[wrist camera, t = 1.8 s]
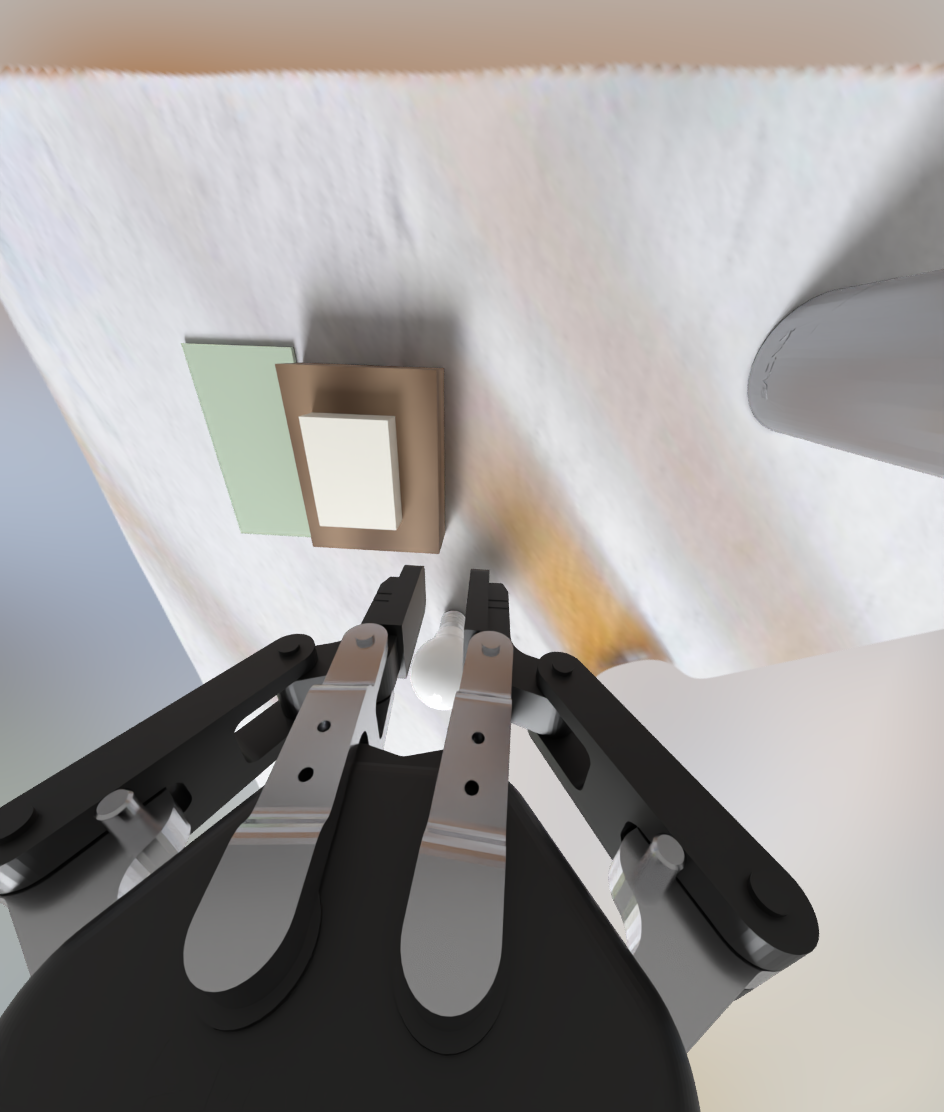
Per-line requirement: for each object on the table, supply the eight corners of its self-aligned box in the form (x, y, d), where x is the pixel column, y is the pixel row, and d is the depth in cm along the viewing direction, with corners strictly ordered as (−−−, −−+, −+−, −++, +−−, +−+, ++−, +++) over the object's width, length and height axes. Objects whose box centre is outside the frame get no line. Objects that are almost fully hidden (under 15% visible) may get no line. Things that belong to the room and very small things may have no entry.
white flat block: (395, 416, 25) (387, 420, 24) (402, 519, 29) (396, 530, 27) (312, 412, 26) (298, 416, 24) (330, 515, 29) (319, 526, 28)
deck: (444, 368, 27) (436, 370, 24) (444, 533, 34) (439, 554, 31) (302, 362, 28) (274, 363, 24) (331, 527, 34) (313, 546, 31)
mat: (293, 347, 27) (290, 347, 27) (328, 536, 35) (326, 538, 35) (185, 343, 27) (180, 343, 27) (243, 531, 35) (241, 533, 35)
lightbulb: (419, 629, 40) (395, 715, 31) (434, 585, 37) (412, 665, 28) (472, 644, 41) (465, 733, 31) (491, 602, 38) (490, 686, 28)
